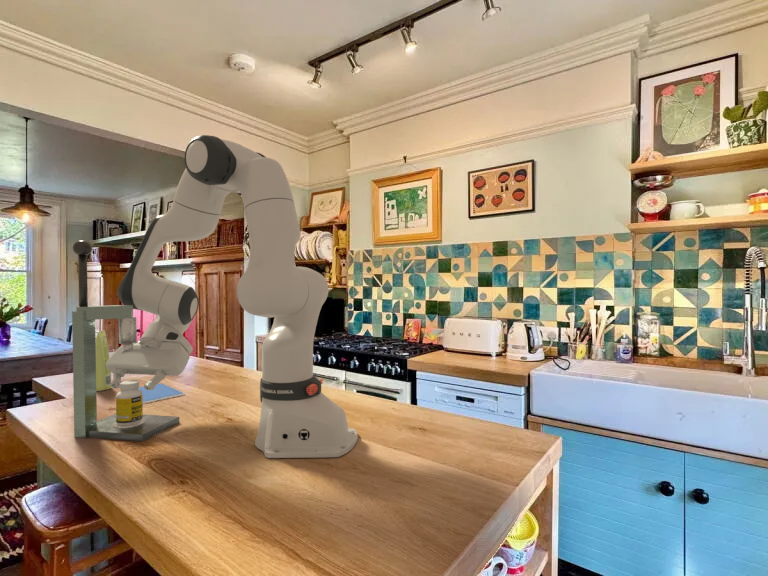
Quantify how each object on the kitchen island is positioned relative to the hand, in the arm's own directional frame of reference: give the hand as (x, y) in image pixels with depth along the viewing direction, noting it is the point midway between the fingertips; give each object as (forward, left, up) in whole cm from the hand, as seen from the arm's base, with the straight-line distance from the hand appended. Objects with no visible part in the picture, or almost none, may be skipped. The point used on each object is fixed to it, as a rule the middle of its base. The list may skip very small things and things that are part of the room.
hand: (131, 388), depth 97 cm
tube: (+38, -29, -10) cm, 49 cm away
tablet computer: (+17, -27, -11) cm, 34 cm away
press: (0, +1, -10) cm, 10 cm away
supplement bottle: (0, +1, -8) cm, 8 cm away
